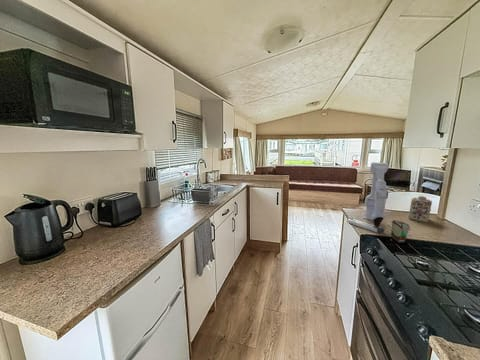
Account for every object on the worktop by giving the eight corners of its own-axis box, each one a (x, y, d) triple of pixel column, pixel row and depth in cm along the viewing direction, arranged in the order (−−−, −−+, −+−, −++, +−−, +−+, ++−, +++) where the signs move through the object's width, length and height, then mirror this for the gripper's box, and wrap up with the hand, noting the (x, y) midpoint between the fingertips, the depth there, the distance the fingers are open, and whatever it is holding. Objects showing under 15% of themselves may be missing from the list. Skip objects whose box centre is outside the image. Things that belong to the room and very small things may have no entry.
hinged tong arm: (348, 221, 149) (349, 218, 149) (350, 221, 150) (350, 217, 150) (382, 232, 131) (383, 228, 131) (384, 232, 133) (384, 228, 132)
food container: (412, 245, 116) (415, 228, 115) (400, 243, 117) (403, 227, 116) (400, 235, 128) (403, 220, 126) (389, 234, 129) (392, 219, 128)
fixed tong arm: (348, 222, 149) (348, 218, 149) (381, 233, 131) (382, 229, 130) (347, 222, 148) (347, 219, 148) (380, 234, 130) (381, 230, 130)
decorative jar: (428, 219, 161) (432, 197, 158) (428, 223, 152) (432, 199, 149) (409, 215, 169) (412, 194, 166) (407, 218, 160) (411, 196, 157)
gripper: (380, 211, 127) (377, 231, 129) (391, 207, 135) (388, 227, 137) (368, 208, 133) (366, 227, 135) (379, 205, 141) (376, 223, 143)
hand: (376, 227), depth 137 cm, fingers closed
